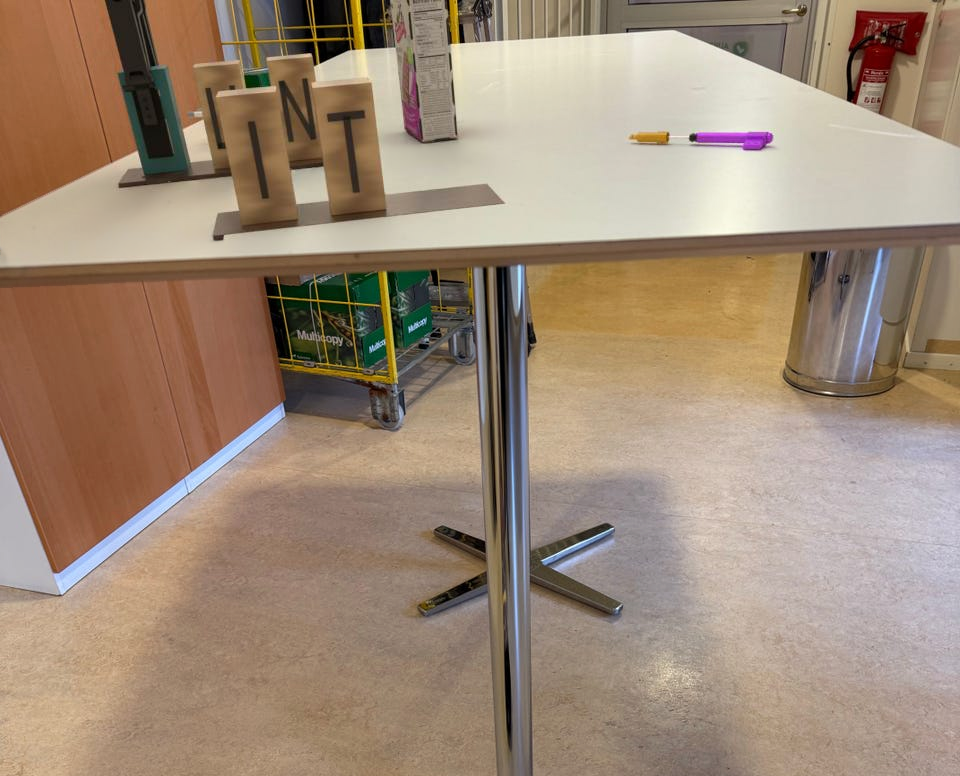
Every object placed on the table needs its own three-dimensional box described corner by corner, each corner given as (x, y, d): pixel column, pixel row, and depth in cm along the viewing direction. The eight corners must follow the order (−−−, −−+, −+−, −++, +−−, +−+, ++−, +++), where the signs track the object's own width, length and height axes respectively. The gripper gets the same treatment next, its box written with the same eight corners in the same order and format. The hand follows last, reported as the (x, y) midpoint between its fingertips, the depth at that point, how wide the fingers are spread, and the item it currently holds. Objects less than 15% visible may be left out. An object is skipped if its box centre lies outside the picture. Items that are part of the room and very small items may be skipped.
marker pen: (774, 141, 97) (632, 140, 104) (774, 129, 96) (631, 129, 103) (766, 153, 96) (623, 150, 103) (766, 141, 95) (622, 139, 102)
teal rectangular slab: (143, 175, 104) (116, 72, 98) (147, 168, 107) (121, 69, 101) (188, 170, 105) (164, 68, 99) (191, 164, 108) (167, 64, 102)
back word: (118, 187, 102) (88, 79, 96) (128, 172, 109) (101, 70, 103) (350, 162, 105) (336, 56, 99) (345, 150, 112) (332, 49, 106)
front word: (213, 240, 80) (182, 103, 74) (218, 217, 87) (190, 90, 81) (505, 207, 83) (499, 72, 76) (487, 187, 90) (480, 63, 83)
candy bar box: (401, 131, 121) (385, -22, 111) (438, 126, 122) (426, -26, 112) (419, 144, 112) (404, -21, 102) (459, 139, 113) (447, -25, 103)
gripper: (125, -118, 85) (191, 163, 99) (146, -108, 98) (201, 138, 112) (41, -112, 84) (120, 170, 98) (74, -102, 97) (138, 144, 111)
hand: (163, 153), depth 105 cm, fingers closed on teal rectangular slab, 4 cm apart
